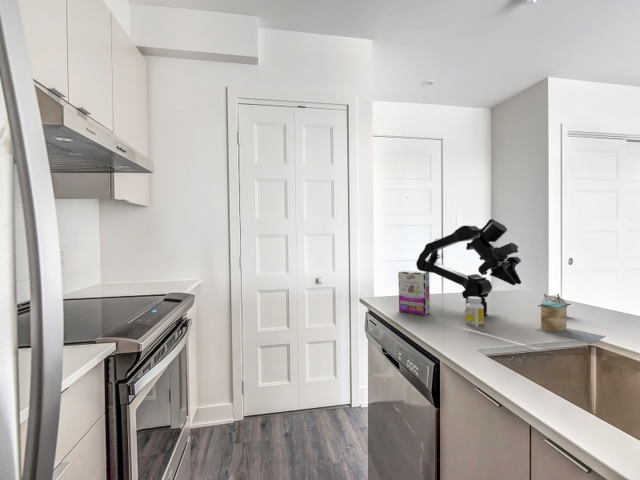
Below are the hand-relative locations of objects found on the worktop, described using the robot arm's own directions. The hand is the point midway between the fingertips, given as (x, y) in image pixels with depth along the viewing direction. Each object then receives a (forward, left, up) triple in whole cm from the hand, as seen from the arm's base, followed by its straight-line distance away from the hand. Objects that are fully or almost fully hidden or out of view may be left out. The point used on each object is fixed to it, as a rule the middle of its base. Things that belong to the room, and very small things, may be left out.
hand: (517, 284), depth 105 cm
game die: (+17, +11, -14) cm, 24 cm away
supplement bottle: (-15, -6, -14) cm, 21 cm away
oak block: (+7, -8, -13) cm, 17 cm away
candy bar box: (-33, +10, -14) cm, 38 cm away
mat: (+10, -11, -14) cm, 20 cm away
